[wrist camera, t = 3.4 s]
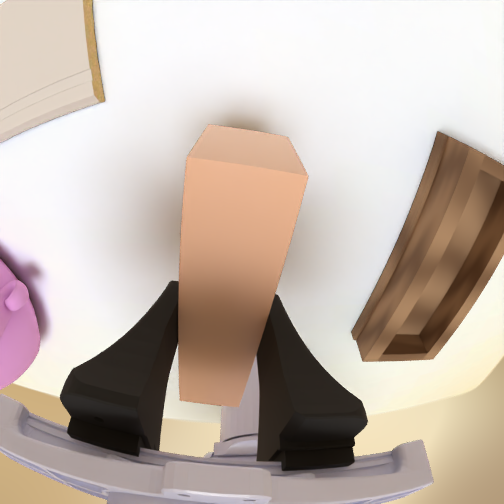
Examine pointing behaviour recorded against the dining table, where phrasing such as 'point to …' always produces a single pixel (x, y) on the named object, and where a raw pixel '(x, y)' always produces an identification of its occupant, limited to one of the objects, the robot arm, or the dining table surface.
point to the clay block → (232, 255)
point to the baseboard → (46, 62)
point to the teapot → (16, 328)
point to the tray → (437, 257)
